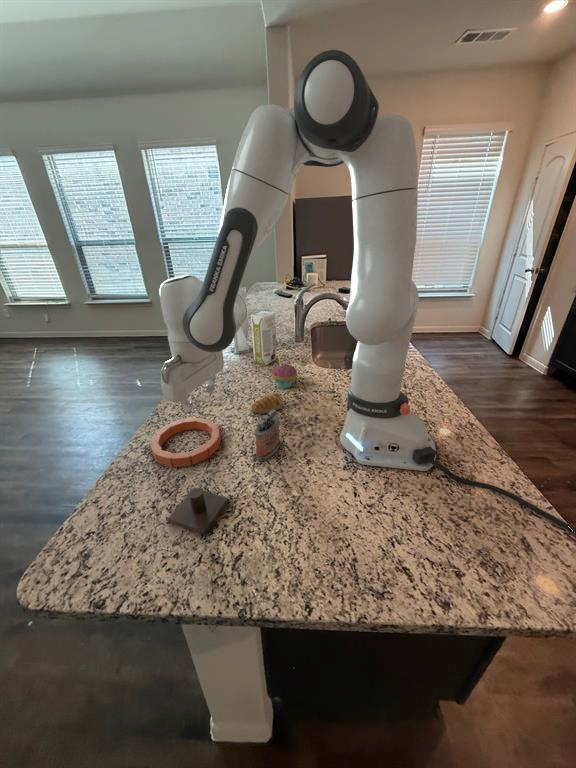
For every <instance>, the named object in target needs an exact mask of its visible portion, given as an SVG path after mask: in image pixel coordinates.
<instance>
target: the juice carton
mask: <svg viewBox="0 0 576 768" xmlns="http://www.w3.org/2000/svg"><path fill="white" fill-rule="evenodd" d="M250 324H251V338H252V350H253V351H252V352H253V361H254V363H258V364H261V365H265V366H267V365H269V364H270V363H272V362H274V361H276V360H277V357H278V352H277V329H276V314H275V312H272V311H266V310H260V311H259V312H257V313H252V314H250Z"/></svg>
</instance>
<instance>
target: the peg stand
mask: <svg viewBox="0 0 576 768" xmlns="http://www.w3.org/2000/svg"><path fill="white" fill-rule="evenodd" d="M228 503H229V498H227V497H225V496H220V495H218V494H216V493H212V492H209V491H206V490H204V489H202V488H201V487H193V488H192V489H190V490H189V492H188V494H187V496H186V497H185V498H184V499H183V500H182V501H181V503H180V504H179V505H178V506H177V507H176V508H175V510H174V511H173V512H172V513H171V514H170V515H169V517H167V519H168V523H170V524H172V525H175V526H179V527H181V528H184V529H186V530H189V531H192V532H194V533H198V534H200V535H203V536H206V535H207V533H208V532H209V531H210V529H211V528H212V526H213V525H214V524H215V522H216V521H217V519H218V518H219V516H220V515H221V513H223V510H224V509H225V508H226V506H227V505H228Z"/></svg>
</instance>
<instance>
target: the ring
mask: <svg viewBox="0 0 576 768" xmlns="http://www.w3.org/2000/svg"><path fill="white" fill-rule="evenodd" d="M220 429H221V428H220V426H219V425H217V424H216V423H215V422H214V421H213V420H211V419H207V418H202V417H190V418H182V419H178V420H175V421H173V422H170V423H167V424H166V425H164V426H162V428H160V429H159V430H157V431H156V432H155V433H154V434H153V435H152V438H151V440H150V443H149V447H150V451H151V454H152V456H153V457H154V459H155V461H156V463H158V464H160V465H164V466H167V467H170V468H179V467H190V466H193V465H197V464H198V463H200V462H203V461H205V460H207V459H209V458H210V457H212V455H213V454H214V453H215V452H216V451H217V450H218V449H219V448H220V446H221V438H222V435H221V430H220ZM190 430H191V431H192V430H201V431H204V432H207V433H209V434H210V439H209V440H207V442H206V443H205V444H203V445H202V446H200V447H198V448H195V449H193V450H191V451H187V452H185V451H184V452H177V453H176V452H175V453H174V452H171V451H168V450H167V451H166V450H163V449H162V446H163V444H164V443H165V442H166V441H167V440H168V439H169V438H170V437H171V436H173V435H176V434H178V433H181V432H184V431H190Z"/></svg>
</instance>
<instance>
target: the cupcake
mask: <svg viewBox="0 0 576 768" xmlns="http://www.w3.org/2000/svg"><path fill="white" fill-rule="evenodd" d="M277 357H278V362H279V364H278V365H276V366H274V367H273V368H272V369H271V371H270V374H271V377H272V379H273V380H274V381H275V383H276V386H277V387H278V388H280V389H288V388H290V387H291V386H292V384H293V381H294V380H295V379H296V378H297V375H298V371H297V369H296V367H294V366H293V365H291V364H287V363H285V364H282V359H281V358H282V357H281V353H280V352H279V351H277Z"/></svg>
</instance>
